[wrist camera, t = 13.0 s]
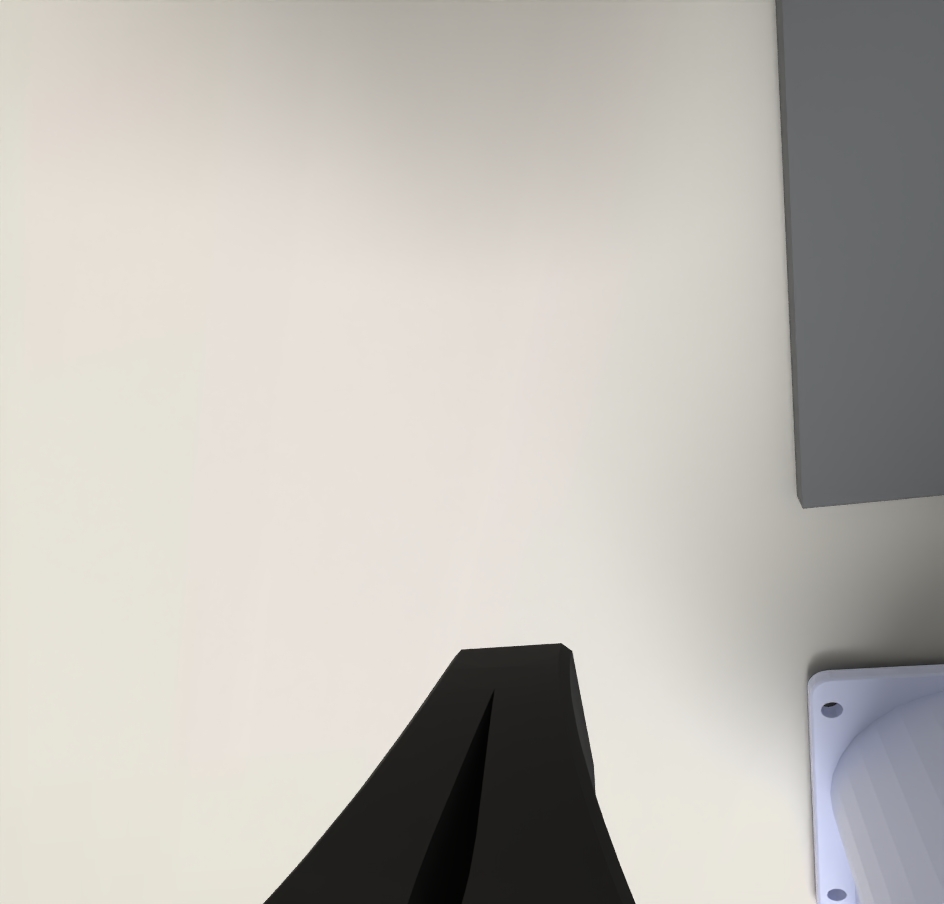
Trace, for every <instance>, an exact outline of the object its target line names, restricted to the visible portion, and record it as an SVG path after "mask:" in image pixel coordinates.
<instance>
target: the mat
mask: <svg viewBox="0 0 944 904" xmlns="http://www.w3.org/2000/svg"><path fill="white" fill-rule="evenodd" d="M776 18H777V41H778V64H779V87H780V110H781V133H782V156H783V179H784V202H785V225H786V248H787V271H788V294H789V317H790V340H791V363H792V386H793V409H794V432H795V454H796V477H797V496H798V499H799V501H800V503H801V505H802V508H803V509H804V508H814V507H825V506H835V505H846V504H856V503H866V502H877V501H887V500H898V499H908V498H918V497H929V496H939V495H944V0H776Z"/></svg>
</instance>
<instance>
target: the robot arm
mask: <svg viewBox="0 0 944 904" xmlns="http://www.w3.org/2000/svg"><path fill="white" fill-rule="evenodd" d="M807 688H808V711H809V735H810V758H811V782H812V806H813V829H814V853H815V877H816V900H817V904H944V664H937V665H918V666H899V667H880V668H861V669H842V670H826V671H821V672H818V673H817V674H815V675H813V676H812V677H811V679H810V680H809V682H808V686H807ZM830 702H835V703H837V704H836V705H834V706H831V707H824V706H823V705H825V704H826V703H830ZM263 904H635V901H634V899H633V896H632V894H631V891H630V889H629V886H628V884H627V881H626V879H625V876H624V874H623V871H622V868H621V866H620V863H619V861H618V858H617V855H616V852H615V850H614V847H613V844H612V841H611V839H610V836H609V833H608V831H607V828H606V825H605V822H604V819H603V816H602V813H601V810H600V807H599V804H598V801H597V798H596V795H595V778H594V764H593V759H592V753H591V748H590V743H589V738H588V732H587V727H586V722H585V716H584V711H583V706H582V701H581V695H580V690H579V685H578V679H577V674H576V669H575V664H574V658H573V653H572V651H571V650H570V649H569V648H567V647H566V646H564V645H563V644H562V643H558V644H542V645H527V646H511V647H495V648H480V649H464V650H461V651H460V652H459V653H458V654H457V655H456V656H455V658H454V659H453V660H452V662H451V663H450V665H449V666H448V668H447V669H446V670H445V672H444V673H443V675H442V676H441V678H440V679H439V681H438V682H437V684H436V685H435V687H434V688H433V690H432V691H431V692H430V694H429V695H428V697H427V698H426V700H425V701H424V703H423V704H422V705H421V707H420V708H419V710H418V711H417V713H416V714H415V715H414V717H413V718H412V720H411V721H410V723H409V724H408V725H407V727H406V728H405V730H404V731H403V732H402V734H401V735H400V737H399V738H398V739H397V741H396V742H395V743H394V745H393V746H392V747H391V749H390V750H389V751H388V753H387V754H386V756H385V757H384V758H383V760H382V761H381V762H380V764H379V765H378V766H377V768H376V769H375V770H374V772H373V773H372V774H371V776H370V777H369V778H368V780H367V781H366V782H365V784H364V785H363V786H362V788H361V789H360V790H359V792H358V793H357V794H356V795H355V797H354V798H353V799H352V800H351V802H350V803H349V804H348V805H347V807H346V808H345V809H344V810H343V811H342V813H341V814H340V815H339V816H338V817H337V819H336V820H335V821H334V822H333V824H332V825H331V826H330V827H329V828H328V830H327V831H326V832H325V833H324V835H323V836H322V837H321V838H320V839H319V841H318V842H317V843H316V844H315V845H314V847H313V848H312V849H311V850H310V852H309V853H308V854H307V855H306V856H305V858H304V859H303V860H302V861H301V862H300V863H299V864H298V866H297V867H296V868H295V869H294V870H293V871H292V872H291V874H290V875H289V876H288V877H287V878H286V879H285V880H284V881H283V883H282V884H281V885H280V886H279V887H278V888H277V889H276V890H275V891H274V893H273V894H272V895H271V896H270V897H269V898H268V899H267V900H266V901H265V902H264V903H263Z"/></svg>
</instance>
